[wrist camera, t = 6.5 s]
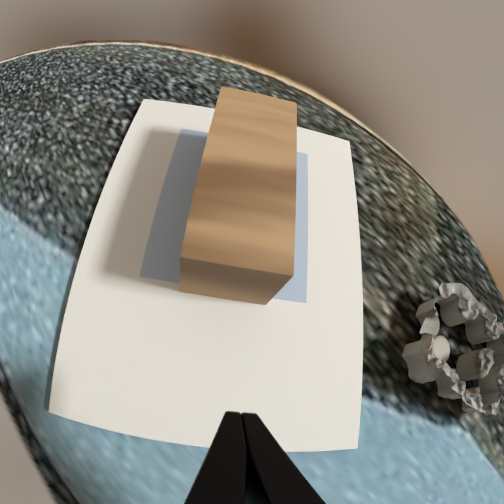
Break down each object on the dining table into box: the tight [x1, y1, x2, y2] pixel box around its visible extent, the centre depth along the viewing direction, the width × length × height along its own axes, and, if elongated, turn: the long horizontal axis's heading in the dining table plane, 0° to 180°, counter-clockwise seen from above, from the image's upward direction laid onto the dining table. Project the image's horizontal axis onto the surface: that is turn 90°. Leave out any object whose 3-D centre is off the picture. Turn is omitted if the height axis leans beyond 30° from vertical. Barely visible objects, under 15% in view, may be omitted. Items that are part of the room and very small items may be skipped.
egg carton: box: [402, 283, 504, 415], centre depth 19 cm, size 11×8×4 cm
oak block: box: [180, 87, 297, 305], centre depth 19 cm, size 5×5×12 cm
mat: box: [49, 99, 363, 452], centre depth 20 cm, size 24×18×1 cm
